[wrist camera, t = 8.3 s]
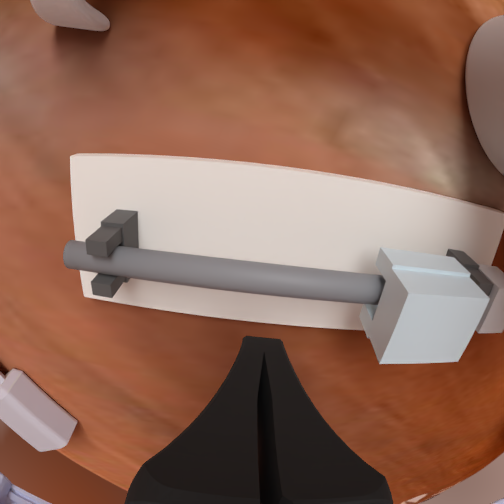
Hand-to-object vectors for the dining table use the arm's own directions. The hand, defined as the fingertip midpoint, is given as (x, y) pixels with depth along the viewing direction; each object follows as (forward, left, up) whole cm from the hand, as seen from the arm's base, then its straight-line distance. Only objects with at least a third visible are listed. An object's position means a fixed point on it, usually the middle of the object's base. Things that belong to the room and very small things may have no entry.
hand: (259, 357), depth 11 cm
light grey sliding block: (-8, -3, -6) cm, 10 cm away
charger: (+17, +30, -10) cm, 36 cm away
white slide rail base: (-2, -1, -9) cm, 10 cm away
